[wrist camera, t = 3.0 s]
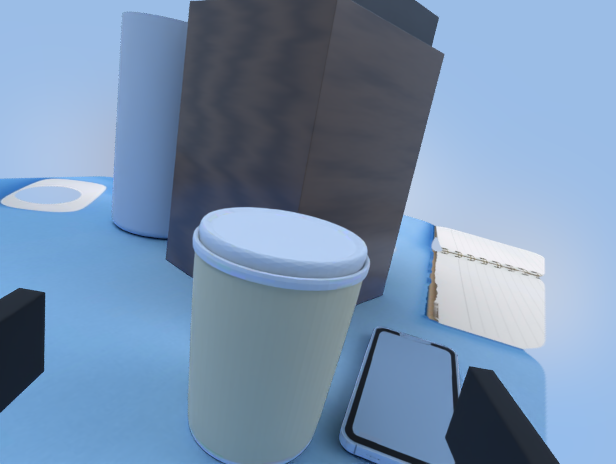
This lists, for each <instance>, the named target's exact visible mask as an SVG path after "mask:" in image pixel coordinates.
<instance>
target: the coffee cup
mask: <svg viewBox="0 0 616 464" xmlns="http://www.w3.org/2000/svg"><path fill="white" fill-rule="evenodd" d="M193 248H194V251H195V257H194V270H193V289H192V311H191V333H190V359H189V386H188V422H189V427H190V430H191V433H192V435H193V437H194V439H195V441H196V442H197V443H198V444H199V446H200V447H201V448H202V449H203V450H204V451H205V452H207V453H208V454H209V455H211V456H212V457H214V458H215V459H217V460H219V461H221V462H223V463H226V464H285V463H288V462H290V461H291V460H293V459H295V458H296V457H297V456H299V455H300V454H301V453H302V452H303V451H304V450H305V449H306V448H307V446H308V445H309V444H310V442H311V440H312V438H313V435H314V433H315V430H316V427H317V424H318V421H319V419H320V416H321V413H322V410H323V407H324V403H325V400H326V397H327V394H328V391H329V388H330V385H331V382H332V379H333V376H334V372H335V369H336V366H337V363H338V360H339V357H340V354H341V350H342V347H343V344H344V341H345V338H346V334H347V331H348V328H349V325H350V322H351V318H352V315H353V312H354V309H355V306H356V303H357V299H358V296H359V292H360V288H361V285H362V281H363V279H365V277H366V276H367V274H368V271H369V267H370V259H369V257H368V255H367V246H366V244H365V242H364V241H363V240H362V239H361V238H360V237H359V236H357V235H356V234H354V233H353V232H351V231H349V230H347V229H345V228H343V227H341V226H339V225H336V224H334V223H331V222H328V221H325V220H322V219H319V218H315V217H312V216H308V215H304V214H299V213H295V212H289V211H283V210H277V209H267V208H254V207H236V208H226V209H220V210H216V211H213V212H210V213H208V214H207V215H206V216H204V217H203V219H202V220H201V223H200V225H199V226H198V227H197V228H196V229H195V231H194V234H193Z"/></svg>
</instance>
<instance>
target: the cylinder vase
mask: <svg viewBox="0 0 616 464" xmlns="http://www.w3.org/2000/svg"><path fill="white" fill-rule="evenodd" d="M187 28H188V22H184V21H180V20H176V19H172V18H167V17H163V16H158V15H152V14H147V13H139V12H123V13H122V27H121V46H120V65H119V84H118V103H117V122H116V141H115V160H114V178H113V197H112V220H113V222H114V223H115V224H116V225H117V226H118V227H119V228H121V229H123V230H125V231H128V232H130V233H134V234H137V235H142V236H147V237H154V238H167V239H168V231H169V220H170V209H171V199H172V188H173V177H174V167H175V156H176V145H177V135H178V124H179V113H180V103H181V92H182V82H183V71H184V60H185V50H186V39H187Z"/></svg>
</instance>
